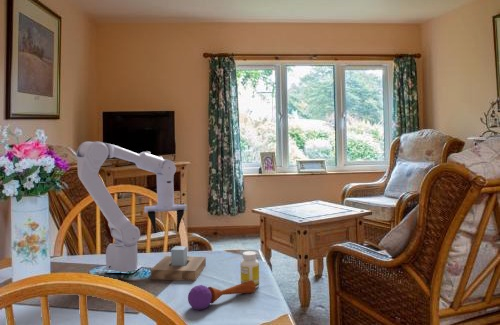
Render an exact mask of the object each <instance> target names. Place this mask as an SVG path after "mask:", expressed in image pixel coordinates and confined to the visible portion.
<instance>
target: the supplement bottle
mask: <svg viewBox="0 0 500 325" xmlns="http://www.w3.org/2000/svg"><path fill="white" fill-rule="evenodd" d="M251 280H252V281H253V282H254V283H255V286H256V289H257V288H258V287H259V286H260V262H259V260H257V251H256V252H255V251H252V250H251V251H249V250H248V251H244V252H242V260H241V261H240V284H242V283H245V282H248V281H251Z"/></svg>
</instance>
